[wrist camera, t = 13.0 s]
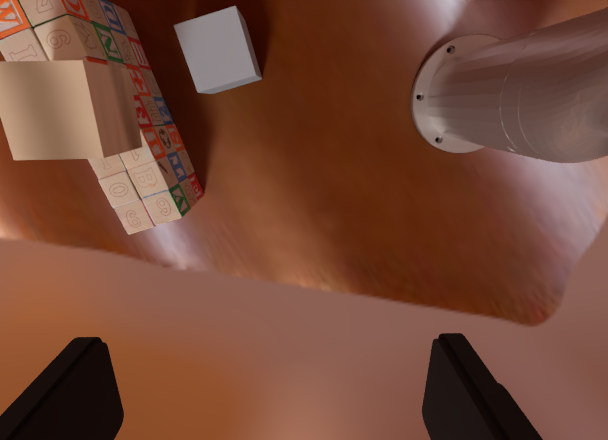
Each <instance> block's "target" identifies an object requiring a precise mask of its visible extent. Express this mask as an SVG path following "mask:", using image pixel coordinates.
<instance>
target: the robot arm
mask: <svg viewBox="0 0 608 440" xmlns="http://www.w3.org/2000/svg"><path fill="white" fill-rule="evenodd" d="M447 48H448V49H449V53H447ZM417 95H419V96H420V98H419V99H417V97H416V96H417ZM411 113H412V118H413V121H414V124H415V126H416V128H417V130H418V131H419V133H420V134H421V136H422V137H423V138H424V139H425V140H426V141H427V142H428V143H430V144H431V145H433V146H435V147H437V148H438V149H441V150H444V151H448V152H453V153H466V152H472V151H476V150H478V149H481V148H484V147H490V148H494V149H498V150H502V151H507V152H511V153H515V154H519V155H523V156H528V157H532V158H536V159H542V160H546V161H551V162H557V163H580V162H586V161H590V160H595V159H599V158H602V157H605V156H607V155H608V7H607V8H604V9H601V10H598V11H595V12H592V13H589V14H586V15H583V16H580V17H576V18H573V19H570V20H567V21H564V22H561V23H557V24H554V25H551V26H547V27H544V28H541V29H537V30H534V31H531V32H528V33H524V34H521V35H518V36H514V37H511V38H508V39H504V40H500V39H499V38H496V37H493V36H490V35H484V34H472V35H465V36H462V37H459V38H456V39H454V40H451V41H449V42H447V43H446V44H444V45H443V46H441V47H440V48H438V49H437V50H436V51H435V52H434V53H433V54H431V55H430V56H429V57H428V59H427V60H426V61H425V63H424V64H423V65H422V67H421V68H420V70H419V72H418V74H417V76H416V78H415V81H414V84H413V87H412V93H411ZM436 137H437V138H438V140H437V141H435V139H436ZM422 415H423V420H424V423H425V426H426V428H427V431H428V433H429V436H430V438H431V440H543V439H542V438H541V437H540V435H539V434H538V432H537V431H536V430H535V428H534V427H533V426H532V424H531V423H530V422H529V420H528V419H527V417H526V416H525V415H524V413H523V412H522V411H521V409H520V408H519V406H518V405H517V403H516V402H515V401H514V399H513V398H512V397H511V395H510V394H509V392H508V391H507V390H506V389H505V388H504V387H503V385H501V384H499V383H497V381H496V380H495V379H494V377H493V376H492V374H491V373H490V372H489V370H488V369H487V367H486V366H485V365H484V363H483V362H482V360H481V359H480V357H479V356H478V355H477V353H476V352H475V351H474V349H473V348H472V346H471V345H470V343H469V342H468V340H467V339H466V338H465V336H464V335H463V334H461V333H451V334H450V333H446V334H440V335H439V338H438V339H434V340H433V343H432V349H431V356H430V363H429V368H428V375H427V381H426V387H425V394H424V400H423V406H422ZM123 418H124V412H123V408H122V404H121V399H120V395H119V391H118V387H117V383H116V379H115V375H114V371H113V367H112V363H111V358H110V354H109V350H108V346H107V344H106V343H103V342H102V340H101V339H100V338H99V337H78V338H75V339H73V340H72V341H71V342H70V343H69V344H68V345H67V346H66V347H65V349H64V350H63V351H62V352H61V353H60V354H59V355H58V356H57V357H56V358H55V359H54V360H53V361H52V362H51V363H50V364H49V365H48V366H47V367H46V368H45V369H44V370H43V372H42V373H41V374H40V375H39V376H38V377H37V378H36V379H35V380H34V381H33V382H32V383H31V384H30V385H29V387H27V388H26V389H25V390H24V392H23V393H22V394H21V395H20V396H19V397H18V398H17V399H16V400H15V401H14V402H13V403H12V404H11V405H10V406H9V407H8V408H7V410H6V411H5V412H4V413H3V414H2V415H1V416H0V440H114V438H115V437H116V435H117V433H118V431H119V429H120V427H121V425H122V422H123Z"/></svg>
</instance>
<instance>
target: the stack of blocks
mask: <svg viewBox="0 0 608 440" xmlns="http://www.w3.org/2000/svg"><path fill="white" fill-rule="evenodd" d="M0 51H1V52H2V54H3V56H4V58H5V59H6V61H7V62H8V61H66V60H84V61H89V62H94V63H99V64H104V65H109V66H114V67H119V68H124V69H129V73H130V79H131V84H132V90H133V96H134V101H135V107H136V112H137V118H138V124H139V129H140V135H141V141H142V146H143V147H141V148H138V149H134V150H131V151H127V152H124V153H120V154H117V155H113V156H110V157H107V158H93V159H88V161H89V163H90V165H91V166H92V168H93V170H94V172H95V174H96V176H97V178H98V179H99V180H98V181H99V183H100V185H101V187H102V189H103V191H104V192H105V194H106V196H107V198H108V200H109V202H110V204H111V205H112V207H113V208H114V209H115V211H116V213H117V215H118V217H119V219H120V221H121V223H122V225H123V226H124V228H125V230H126V232H127V234H128V235H129V234H133V233H136V232H139V231H142V230H145V229H149V228H152V227H154V226H156V225H160V224H163V223H166V222H169V221H173V220H176V219H179V218H182V217H183V216H184V215H185V214H186V213H187V212H188V211H189V210H190V209H191V207H192V206H193V205H195V204H196V203H197V202H198V200H199V199H200V198H202V197H203V196H204V193H203V191H202V188H201V186H200V184H199V181H198V179H197V177H196V174H195V173H194V168H193V166H192V163H191V161H190V159H189V156H188V154H187V152H186V150H185V147H184V144H183V142H182V139H181V137H180V135H179V132H178V130H177V128H176V125H175V124H174V122H173V120H172V117H171V115H170V113H169V110H168V108H167V105H166V103H165V101H164V99H163V97H162V94H161V92H160V89H159V87H158V85H157V82H156V80H155V78H154V75H153V73H152V69H151V67H150V64H149V62H148V59H147V57H146V55H145V52H144V50H143V47H142V45H141V43H140V40H139V37H138V35H137V32H136V30H135V28H134V25H133V23H132V20H131V18H130V16H129V13H128V12H127V11H126V10H125V9H123V8H121V7H119V6H117V5H115V4H113V3H111V2H109V1H107V0H0Z"/></svg>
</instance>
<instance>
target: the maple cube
mask: <svg viewBox="0 0 608 440" xmlns="http://www.w3.org/2000/svg"><path fill="white" fill-rule="evenodd" d="M0 117H1V120H2V123H3V126H4V130H5V133H6V136H7V139H8V143H9V146H10V149H11V152H12V156H13V159H14V160H47V159H93V158H107V157H110V156H113V155H117V154H120V153H124V152H127V151H131V150H134V149H138V148H141V147H143V146H142V141H141V135H140V129H139V124H138V118H137V112H136V107H135V101H134V96H133V90H132V84H131V79H130V73H129V69H124V68H119V67H114V66H109V65H104V64H99V63H94V62H89V61H84V60H66V61H8V62H0Z"/></svg>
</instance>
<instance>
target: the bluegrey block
mask: <svg viewBox="0 0 608 440" xmlns="http://www.w3.org/2000/svg"><path fill="white" fill-rule="evenodd" d="M174 28H175V31H176V34H177V36H178V39H179V42H180V45H181V48H182V50H183V53H184V56H185V59H186V62H187V64H188V67H189V70H190V73H191V76H192V78H193V81H194V84H195V87H196V90H197V92H198V93H207V94H214V93H217V92H220V91H224V90H227V89H231V88H234V87H237V86H241V85H244V84H247V83H251V82H254V81H257V80H261V79H262V77H261V73H260V70H259V66H258V63H257V59H256V56H255V53H254V49H253V46H252V42H251V39H250V35H249V32H248V29H247V25H246V22H245V20H244V18H243V16H242V15H241V13H240V12H239V10H238V9H237V7H236V6H233V7H229V8H226V9H223V10H220V11H217V12H214V13H211V14H207V15H204V16H201V17H198V18H195V19H192V20H189V21H185V22H182V23H179V24H176V25H174Z"/></svg>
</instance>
